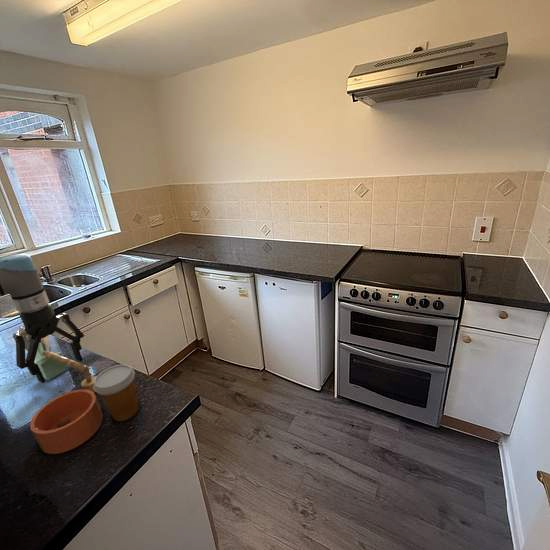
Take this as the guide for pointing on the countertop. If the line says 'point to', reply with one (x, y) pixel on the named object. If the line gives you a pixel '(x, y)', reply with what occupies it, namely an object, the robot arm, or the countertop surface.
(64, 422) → the meatball
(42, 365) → the pale green box
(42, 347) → the beer glass
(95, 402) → the bowl
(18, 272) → the robot arm
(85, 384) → the ladle
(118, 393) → the disposable coffee cup
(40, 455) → the countertop surface
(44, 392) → the countertop surface
